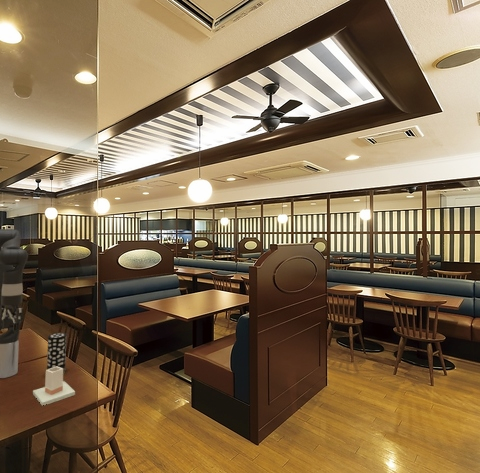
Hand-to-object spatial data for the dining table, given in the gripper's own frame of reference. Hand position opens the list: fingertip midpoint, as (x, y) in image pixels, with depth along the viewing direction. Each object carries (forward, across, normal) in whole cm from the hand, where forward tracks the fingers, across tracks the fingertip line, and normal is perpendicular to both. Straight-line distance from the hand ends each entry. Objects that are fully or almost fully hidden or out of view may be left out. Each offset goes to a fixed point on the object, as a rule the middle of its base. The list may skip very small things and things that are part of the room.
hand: (10, 329), depth 134 cm
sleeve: (+29, -15, -11) cm, 34 cm away
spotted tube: (+30, +4, -24) cm, 39 cm away
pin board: (+30, -15, -11) cm, 36 cm away
